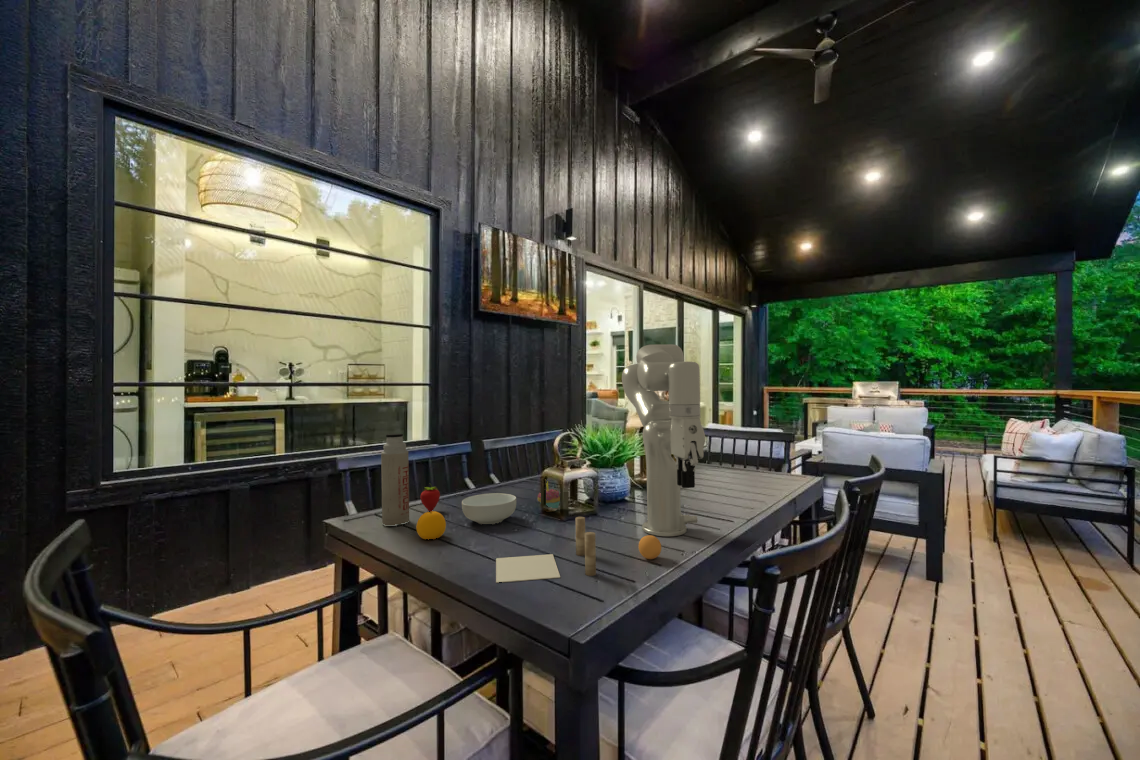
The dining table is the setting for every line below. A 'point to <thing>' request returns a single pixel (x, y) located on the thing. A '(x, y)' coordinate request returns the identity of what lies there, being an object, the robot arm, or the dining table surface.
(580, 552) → the post
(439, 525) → the orange round fruit
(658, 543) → the ball
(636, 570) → the dining table surface
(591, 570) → the post
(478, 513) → the cereal bowl
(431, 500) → the strawberry
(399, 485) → the thermos bottle
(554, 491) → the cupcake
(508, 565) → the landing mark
